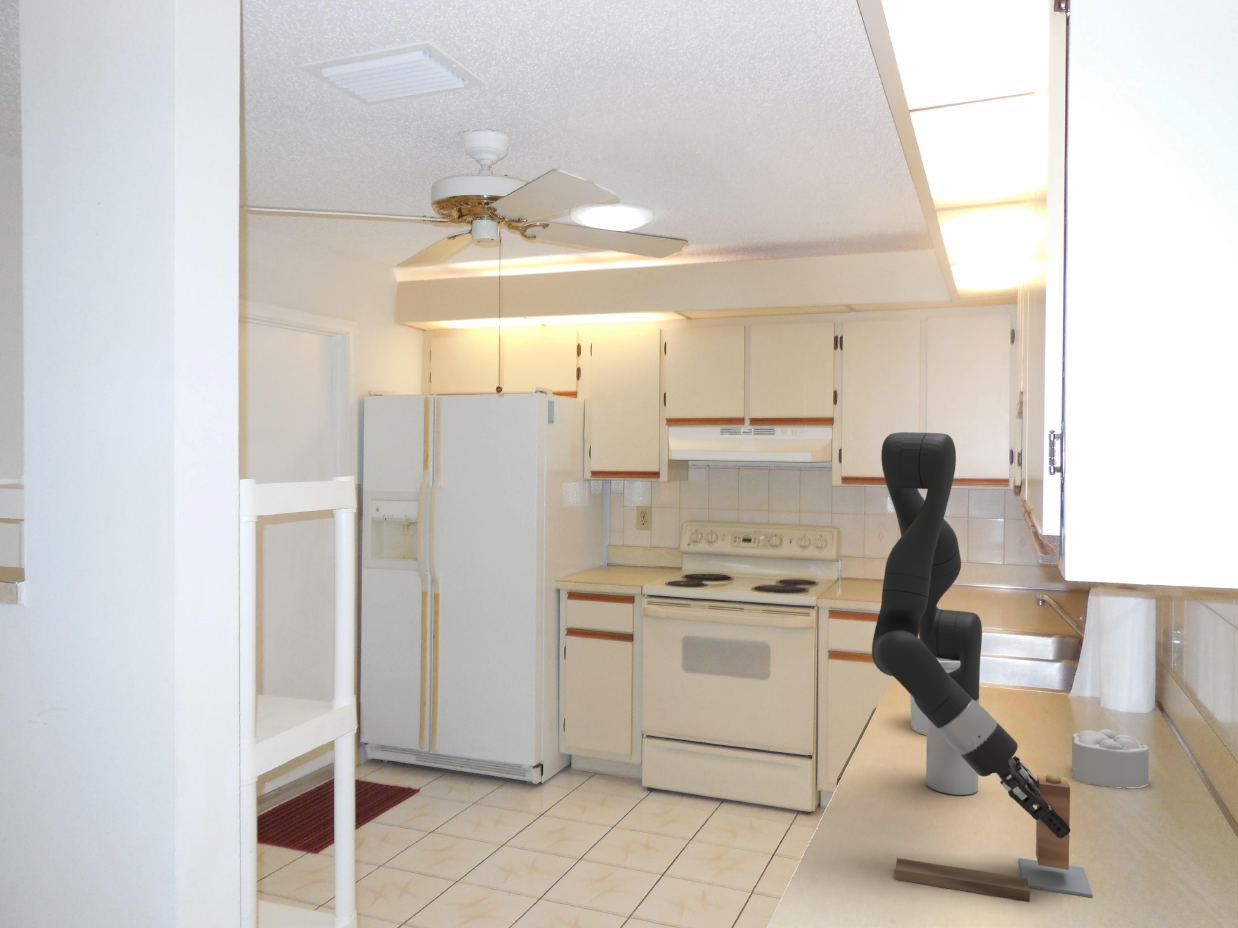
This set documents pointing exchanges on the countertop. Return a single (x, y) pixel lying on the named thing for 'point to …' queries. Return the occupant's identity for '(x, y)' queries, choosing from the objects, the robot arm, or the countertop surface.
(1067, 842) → the post
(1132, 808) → the countertop surface
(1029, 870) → the slate mat
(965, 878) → the walnut board
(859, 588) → the countertop surface
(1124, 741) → the lumpy-topped squat cylinder
